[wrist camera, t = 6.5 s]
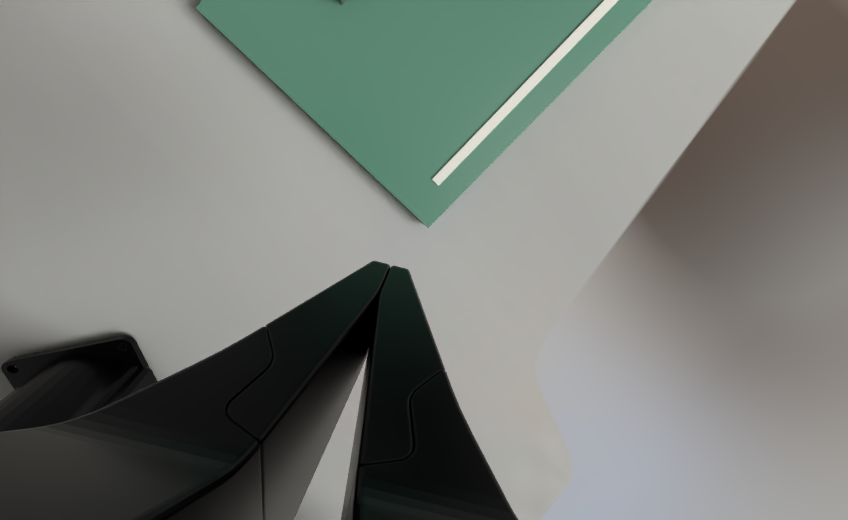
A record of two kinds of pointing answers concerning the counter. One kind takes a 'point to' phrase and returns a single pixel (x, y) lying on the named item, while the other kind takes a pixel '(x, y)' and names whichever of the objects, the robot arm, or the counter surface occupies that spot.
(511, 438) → the counter surface
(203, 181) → the counter surface
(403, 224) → the counter surface
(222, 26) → the board
